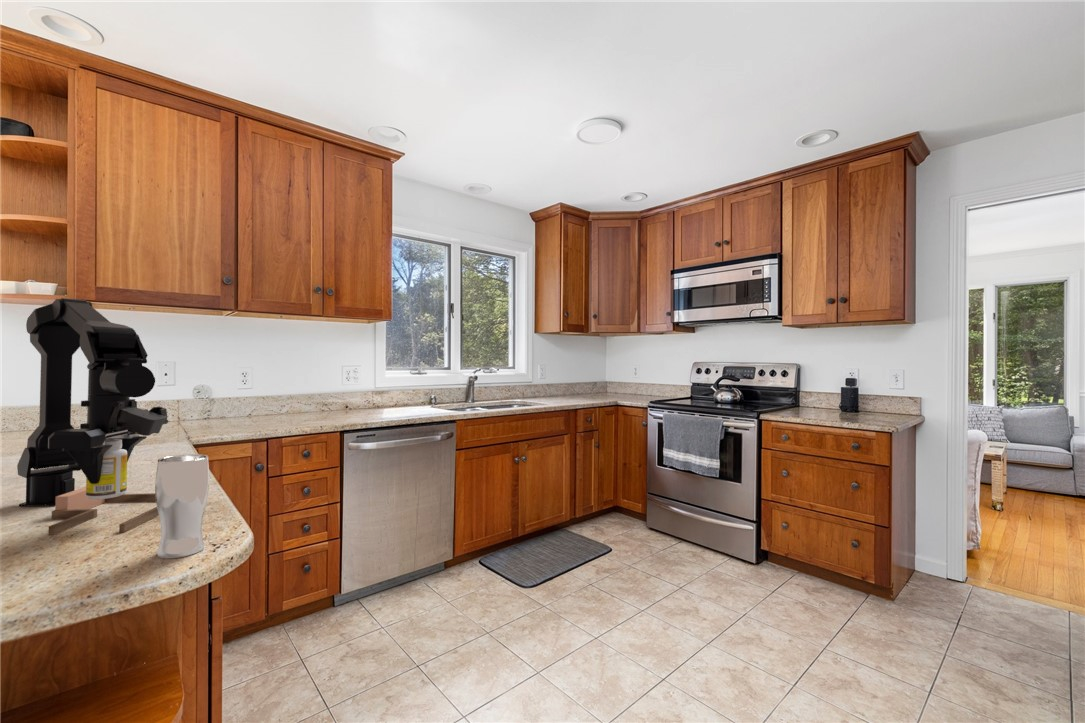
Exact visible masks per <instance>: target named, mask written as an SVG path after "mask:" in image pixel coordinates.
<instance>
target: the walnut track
mask: <svg viewBox="0 0 1085 723" xmlns="http://www.w3.org/2000/svg"><path fill="white" fill-rule="evenodd" d="M130 502H131V503H135V502H137V503H141V502H156V497H155V492H151V493H150V492H149V493H125V494H123V495H121V496H117V497H113V498H107V499H105V503H130ZM97 517H98V508H90V509H71V510H55V509H54V510H51V520H61V521H59V522H56V523H54V524H51V525H49V526H48V530H47V532H48V534H47V535H48V536H55V535H57V534H59V532H60V533H62V532H64V531H66V530H68V529H71V528H73V527H76V526H79V525H81V524H82V523H85V522H87V521H90V520H92V519H94V518H97ZM156 517H159V515H158V510H157V506H155V507H153V508H150V509H149V510H147V511H145V512H142V513H141V514H138V515H136V516H134V517H132V518H129V519H127V520H126V521H124V522H122V523H119V526H118V527H119V529H118V530H119V532H118V533H119V534H122V533H123V534H125V533H127V532H129V531H131V530H132V529H134V528H136V527H138V526H140V525H143V524H145V523H146V522H148V521H150V520H152V519H155V518H156Z"/></svg>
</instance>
